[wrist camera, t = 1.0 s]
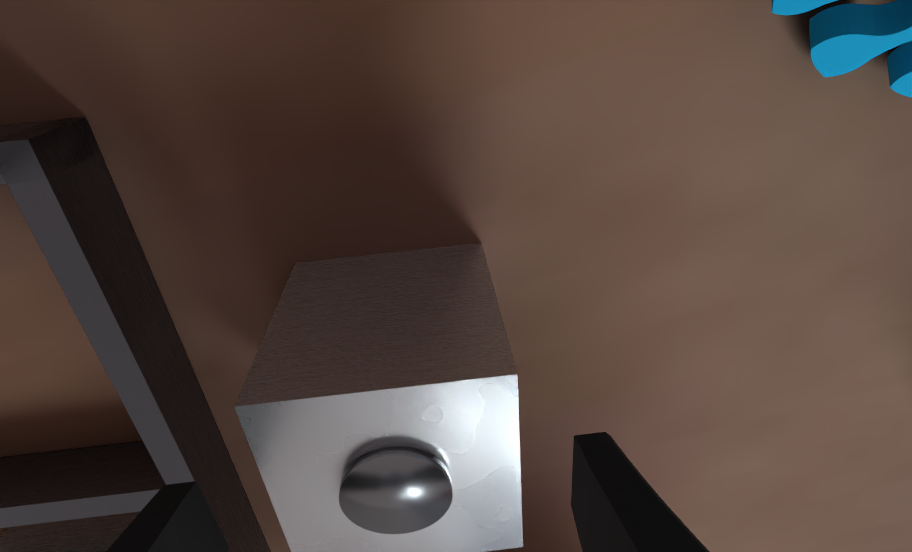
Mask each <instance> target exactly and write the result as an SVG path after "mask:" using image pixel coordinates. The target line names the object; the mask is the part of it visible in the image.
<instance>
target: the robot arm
mask: <svg viewBox="0 0 912 552" xmlns="http://www.w3.org/2000/svg"><path fill="white" fill-rule="evenodd" d="M571 506H572V511H573V515H574V519H575V523H576V527H577V531H578V535H579V539H580V543H581V547H582V550H583V552H709V551H708V550H707V548H706V547H705V546H704V545H703V544H702V543H701V542H700V541H699V540H698V539H697V538H696V537H695V536H694V535H693V533H692V532H691V531H690V530H689V529H688V528H687V527H686V526H685V525H684V524H683V522H682V521H681V520H680V519H679V518H678V517H677V516H676V515H675V514H674V513H673V511H672V510H671V509H670V508H669V507H668V506H667V505H666V504H665V502H664V501H663V500H662V499H661V498H660V497H659V495H658V494H657V493H656V492H655V491H654V490H653V488H652V487H651V486H650V485H649V484H648V482H647V481H646V480H645V479H644V478H643V476H642V475H641V474H640V473H639V472H638V470H637V469H636V468H635V467H634V465H633V464H632V463H631V462H630V460H629V459H628V458H627V457H626V455H625V454H624V453H623V452H622V450H621V449H620V448H619V446H618V445H617V444H616V442H615V441H614V440H613V438H612V437H611V436H610V435H609V434H607V433H606V432H601V433H592V434H584V435H576V436H574V447H573V472H572V497H571ZM228 551H229V546H228V544H227V542H226V540H225V538H224V536H223V534H222V532H221V530H220V528H219V526H218V523H217V521H216V519H215V517H214V515H213V513H212V511H211V509H210V507H209V505H208V503H207V501H206V499H205V497H204V495H203V493H202V491H201V489H200V487H199V485H198V483H197V481H193V482H184V483H176V484H168V485H164V486H163V487H162V488H161V489H160V490H159V491H158V492H157V494H156V495H155V496H154V497H153V498H152V499H151V500H150V501H149V503H148V504H147V505H146V506H145V507H144V508H143V509H142V511H141V512H140V513H139V514H138V515H137V516H136V517H135V519H134V520H133V521H132V522H131V523H130V524H129V526H128V527H127V528H126V529H125V530H124V531H123V532H122V534H121V535H120V536H119V537H118V538H117V539H116V540H115V542H114V543H113V544H112V545H111V546H110V547H109V549H108V550H107V551H106V552H228Z"/></svg>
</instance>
